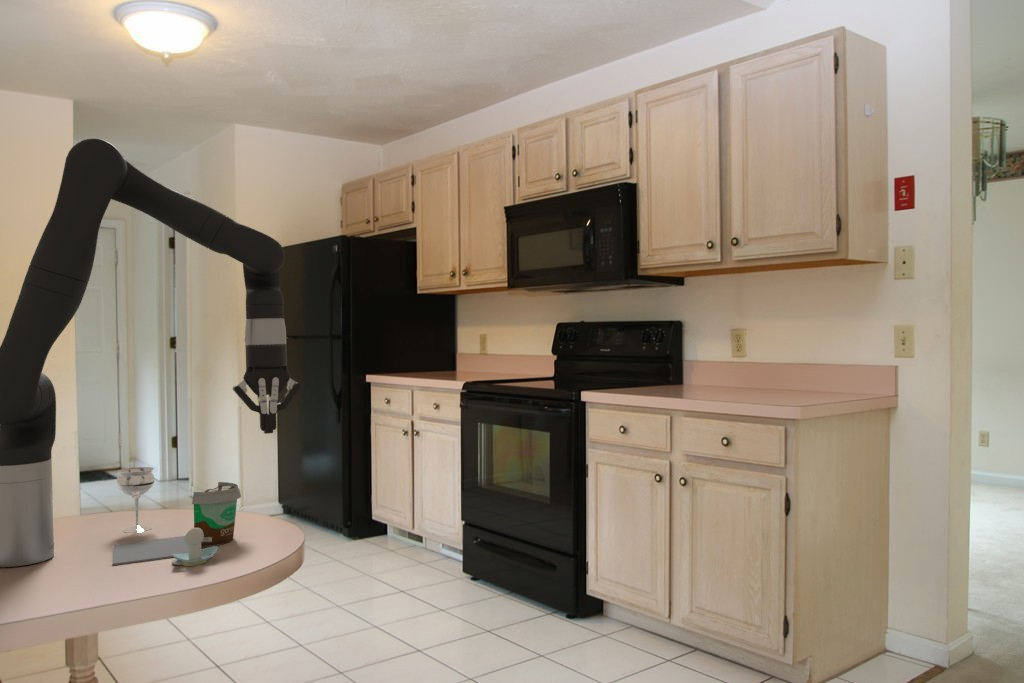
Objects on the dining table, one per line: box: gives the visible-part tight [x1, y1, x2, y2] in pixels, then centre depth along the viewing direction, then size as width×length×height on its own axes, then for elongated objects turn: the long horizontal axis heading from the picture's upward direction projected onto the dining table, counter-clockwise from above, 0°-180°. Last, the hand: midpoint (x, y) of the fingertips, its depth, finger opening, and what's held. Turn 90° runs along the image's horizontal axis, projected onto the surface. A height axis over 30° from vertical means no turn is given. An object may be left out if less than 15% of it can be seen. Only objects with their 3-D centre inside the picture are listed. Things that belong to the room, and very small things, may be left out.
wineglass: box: [116, 466, 155, 534], centre depth 156 cm, size 7×7×12 cm
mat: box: [112, 535, 188, 566], centre depth 140 cm, size 14×14×1 cm
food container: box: [191, 481, 242, 548], centre depth 145 cm, size 12×6×10 cm, turn 179°
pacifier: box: [171, 527, 219, 567], centre depth 132 cm, size 7×6×6 cm
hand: (268, 432), depth 149 cm, fingers closed
